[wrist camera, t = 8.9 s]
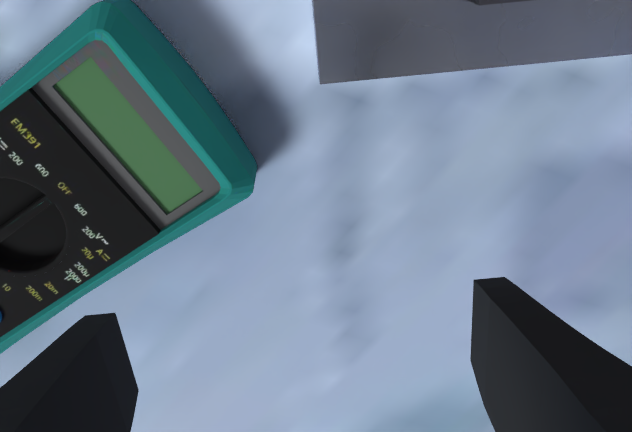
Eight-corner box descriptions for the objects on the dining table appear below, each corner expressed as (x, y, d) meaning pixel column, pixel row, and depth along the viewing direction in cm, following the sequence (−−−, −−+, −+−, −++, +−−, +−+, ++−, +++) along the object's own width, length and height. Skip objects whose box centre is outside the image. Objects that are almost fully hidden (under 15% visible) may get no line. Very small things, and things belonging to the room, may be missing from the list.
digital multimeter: (-170, 221, 22) (-235, 262, 19) (131, -18, 18) (103, -8, 16) (-17, 347, 24) (-55, 398, 22) (268, 161, 21) (264, 195, 18)
